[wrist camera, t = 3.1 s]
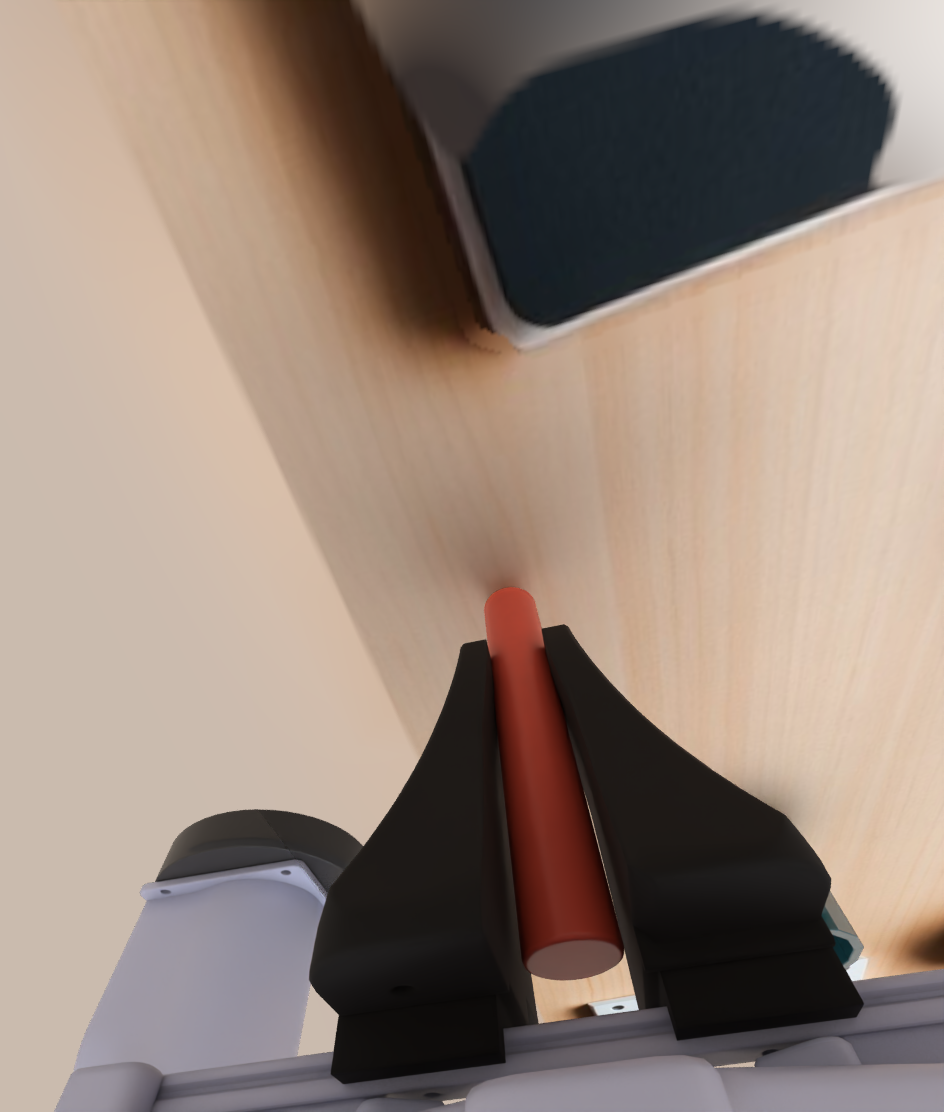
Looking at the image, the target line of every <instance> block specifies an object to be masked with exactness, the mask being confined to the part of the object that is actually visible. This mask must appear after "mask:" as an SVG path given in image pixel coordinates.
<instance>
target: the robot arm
mask: <svg viewBox="0 0 944 1112" xmlns="http://www.w3.org/2000/svg"><path fill="white" fill-rule="evenodd" d="M541 630H542V636H543V641H544V647H545V651H546V655H547V659H548V663H549V667H550V671H551V675H552V678H553V681H554V684H555V686H556V689H557V692H558V695H559V698H560V702H561V705H562V709H563V712H564V716H565V720H566V724H567V728H568V732H569V736H570V739H571V743H572V747H573V751H574V755H575V759H576V763H577V767H578V770H579V774H580V778H581V782H582V786H583V789H584V792H585V795H586V798H587V802H588V805H589V808H590V812H591V815H592V819H593V823H594V827H595V831H596V835H597V839H598V843H599V847H600V851H601V855H602V859H603V863H604V867H605V871H606V876H607V880H608V884H609V888H610V892H611V896H612V900H613V904H614V908H615V912H616V917H617V921H618V925H619V929H620V933H621V937H622V940H623V944H624V950H625V954H626V958H627V962H628V966H629V971H630V975H631V979H632V983H633V987H634V992H635V996H636V1000H637V1004H638V1008H639V1010H637V1011H630V1012H622V1013H615V1014H607V1015H600V1016H593V1017H585V1018H578V1019H571V1020H563V1021H556V1022H548V1023H542V1024H538V1018H537V1011H536V1004H535V998H534V991H533V984H532V978H531V973H530V972H528V971H527V970H526V969H525V967H524V965H523V963H522V959H521V950H520V940H519V931H518V922H517V912H516V903H515V894H514V884H513V875H512V866H511V856H510V847H509V838H508V828H507V819H506V810H505V800H504V791H503V781H502V772H501V763H500V753H499V744H498V735H497V725H496V715H495V698H494V681H493V672H492V663H491V656H490V653H489V649H488V645H487V641H486V640H480V641H475V642H470V643H465V644H463V645H462V647H461V649H460V654H459V659H458V663H457V667H456V670H455V674H454V677H453V680H452V684H451V687H450V689H449V692H448V695H447V698H446V701H445V704H444V706H443V709H442V711H441V714H440V716H439V719H438V721H437V723H436V726H435V728H434V730H433V733H432V735H431V737H430V739H429V741H428V744H427V746H426V748H425V750H424V752H423V754H422V756H421V758H420V759H419V761H418V763H417V765H416V767H415V769H414V771H413V772H412V774H411V776H410V778H409V779H408V781H407V783H406V784H405V786H404V788H403V789H402V791H401V793H400V794H399V796H398V798H397V799H396V801H395V802H394V804H393V805H392V807H391V808H390V810H389V812H388V813H387V814H386V816H385V817H384V819H383V820H382V821H381V823H380V824H379V826H378V827H377V829H376V830H375V831H374V833H373V834H372V835H371V837H370V838H369V840H368V841H367V842H366V844H365V845H364V846H363V848H362V849H361V850H360V851H359V853H358V854H357V855H356V856H355V858H354V859H353V860H352V861H351V862H350V864H349V865H348V866H347V867H346V869H345V870H344V871H343V872H342V874H341V875H340V876H339V877H338V878H337V880H336V881H335V882H334V883H333V884H332V886H331V887H330V889H329V892H328V893H327V892H326V890H325V889H324V888H323V886H322V885H321V884H320V882H319V881H318V880H317V878H316V877H315V876H314V874H313V873H312V872H311V870H310V869H309V868H308V866H307V865H306V864H305V862H303V861H302V860H299V859H292V860H286V861H280V862H274V863H268V864H262V865H256V866H249V867H243V868H237V869H231V870H225V871H219V872H213V873H207V874H200V875H194V876H188V877H182V878H176V879H170V880H164V881H158V882H152V883H147V884H144V885H143V886H142V889H141V891H140V895H141V896H142V897H143V898H144V899H145V900H147V902H146V904H145V906H144V908H143V910H142V913H141V915H140V917H139V919H138V921H137V923H136V925H135V928H134V930H133V932H132V934H131V936H130V938H129V940H128V942H127V944H126V947H125V949H124V951H123V953H122V955H121V957H120V960H119V961H118V964H117V966H116V968H115V970H114V972H113V974H112V976H111V979H110V981H109V983H108V985H107V987H106V990H105V991H104V994H103V996H102V998H101V1000H100V1002H99V1004H98V1006H97V1009H96V1011H95V1013H94V1015H93V1018H92V1019H91V1022H90V1024H89V1026H88V1028H87V1030H86V1033H85V1035H84V1038H83V1040H82V1043H81V1046H80V1049H79V1052H78V1055H77V1059H76V1063H75V1067H74V1072H73V1073H72V1074H71V1076H70V1078H69V1080H68V1082H67V1085H66V1087H65V1089H64V1091H63V1093H62V1095H61V1097H60V1100H59V1102H58V1104H57V1106H56V1109H55V1110H54V1112H944V969H940V970H932V971H925V972H917V973H910V974H903V975H895V976H888V977H881V978H873V979H866V980H858V981H851V979H850V977H849V975H848V973H847V972H846V970H845V968H844V966H843V965H842V963H841V961H840V959H839V957H838V956H837V954H836V952H835V950H834V949H833V947H835V944H836V942H835V939H834V936H833V935H832V933H831V931H830V930H829V928H828V926H827V924H826V923H825V921H824V919H823V917H822V916H821V915H822V912H823V909H824V906H825V904H826V901H827V898H828V895H829V892H830V888H831V877H830V876H829V874H828V872H827V871H826V869H825V867H824V865H823V863H822V862H821V860H820V858H819V857H818V856H817V854H816V853H815V851H814V850H813V849H812V847H811V846H810V845H809V844H808V842H807V841H806V840H805V838H804V837H803V836H802V835H801V833H800V832H799V831H798V830H797V828H796V827H795V826H794V825H793V824H792V823H791V821H790V820H789V819H788V818H787V817H786V816H785V815H784V814H783V813H781V812H779V811H777V810H776V809H774V808H772V807H770V806H769V805H767V804H765V803H764V802H762V801H760V800H758V799H757V798H755V797H754V796H752V795H750V794H749V793H747V792H745V791H744V790H742V789H741V788H739V787H737V786H736V785H734V784H733V783H731V782H730V781H728V780H727V779H725V778H724V777H722V776H721V775H719V774H718V773H716V772H715V771H713V770H712V769H710V768H709V767H708V766H706V765H705V764H704V763H702V762H701V761H699V760H698V759H697V758H695V757H694V756H693V755H691V754H690V753H689V752H687V751H686V750H684V749H683V748H682V747H680V746H679V745H678V744H676V743H675V742H674V741H673V740H672V739H670V738H669V737H668V736H667V735H665V734H664V733H663V732H662V731H661V730H659V729H658V728H657V727H656V726H655V725H654V724H652V723H651V722H650V721H649V720H648V719H647V718H646V717H645V716H643V715H642V714H641V713H640V712H639V711H638V710H637V709H636V708H635V707H634V706H633V705H632V704H631V703H630V702H629V701H628V700H627V699H626V698H625V697H624V696H623V695H622V694H621V693H620V692H619V691H618V690H617V689H616V688H615V687H614V686H613V685H612V684H611V683H610V681H609V680H608V679H607V678H606V677H605V676H604V675H603V673H602V672H601V671H600V670H599V669H598V668H597V666H596V665H595V664H594V663H593V662H592V660H591V659H590V658H589V657H588V655H587V654H586V653H585V651H584V650H583V649H582V647H581V646H580V644H579V643H578V642H577V640H576V639H575V637H574V635H573V634H572V632H571V630H570V629H569V627H568V626H566V625H564V624H563V625H558V626H553V627H548V628H543V629H541ZM311 984H312V986H313V988H314V989H315V991H316V992H317V993H318V994H319V995H320V996H321V997H322V998H323V999H324V1000H325V1001H326V1002H327V1003H328V1004H329V1005H330V1006H331V1007H332V1008H333V1009H334V1010H335V1011H336V1012H337V1013H338V1014H339V1017H338V1024H337V1032H336V1038H335V1045H334V1052H327V1053H320V1054H313V1055H305V1056H298V1057H297V1054H298V1049H299V1044H300V1038H301V1033H302V1028H303V1022H304V1017H305V1012H306V1006H307V1001H308V996H309V991H310V985H311ZM754 1061H756V1062H755V1067H733V1068H714V1066H722V1065H730V1064H738V1063H746V1062H754ZM461 1098H466V1100H464V1101H460V1102H456V1103H452V1104H448V1105H444V1103H443V1102H442V1101H445V1100H453V1099H461Z"/></svg>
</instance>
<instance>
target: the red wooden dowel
mask: <svg viewBox="0 0 944 1112" xmlns="http://www.w3.org/2000/svg"><path fill="white" fill-rule="evenodd" d="M484 613H485V622H486V632H487V641H488V649H489V653H490V656H491V663H492V672H493V681H494V698H495V715H496V725H497V735H498V744H499V753H500V763H501V772H502V781H503V791H504V800H505V810H506V819H507V828H508V838H509V847H510V856H511V866H512V875H513V884H514V894H515V903H516V912H517V922H518V931H519V940H520V950H521V959H522V963H523V965H524V967H525V969H526V970H527V971H528V972H530V973H531V974H533V975H535V976H538V977H541V978H546V979H551V980H576V979H583V978H588V977H592V976H595V975H598V974H601V973H603V972H605V971H607V970H609V969H611V968H613V967H614V966H616V965H617V964H618V963H619V962H620V961H621V960H622V958H623V955H624V944H623V940H622V937H621V933H620V929H619V925H618V921H617V917H616V913H615V910H614V906H613V902H612V898H611V894H610V890H609V886H608V882H607V879H606V875H605V871H604V867H603V863H602V859H601V855H600V852H599V848H598V844H597V840H596V836H595V832H594V828H593V824H592V821H591V817H590V813H589V809H588V805H587V801H586V797H585V794H584V790H583V786H582V782H581V778H580V774H579V770H578V767H577V763H576V759H575V755H574V751H573V747H572V743H571V739H570V736H569V732H568V728H567V724H566V720H565V716H564V712H563V709H562V705H561V702H560V698H559V695H558V692H557V689H556V686H555V684H554V681H553V678H552V675H551V671H550V667H549V663H548V659H547V655H546V651H545V647H544V641H543V636H542V630H541V629H542V627H541V623H540V620H539V616H538V612H537V608H536V604H535V601H534V599H533V597H532V596H531V595H530V594H529V593H528V592H527V591H525V590H523V589H520V588H516V587H507V588H502V589H500V590H498V591H496V592H494V593H493V594H492V595H491V596H490V597H489V598H488V600H487V601H486V603H485V607H484Z"/></svg>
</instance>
